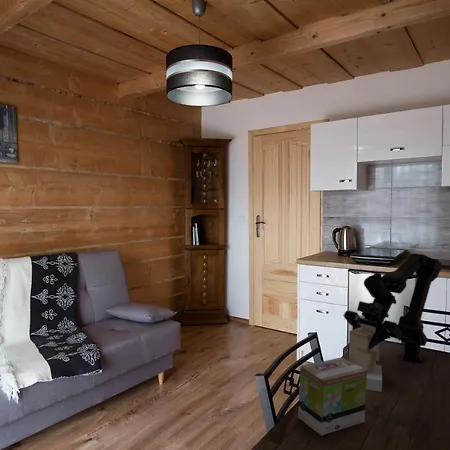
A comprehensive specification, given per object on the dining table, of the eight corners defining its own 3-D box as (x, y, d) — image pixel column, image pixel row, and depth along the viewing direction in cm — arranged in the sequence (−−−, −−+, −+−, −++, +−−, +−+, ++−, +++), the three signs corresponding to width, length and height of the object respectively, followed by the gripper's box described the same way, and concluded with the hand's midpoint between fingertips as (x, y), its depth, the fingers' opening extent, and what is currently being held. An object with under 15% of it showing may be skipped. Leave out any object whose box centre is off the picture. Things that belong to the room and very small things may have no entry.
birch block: (359, 359, 135) (360, 327, 134) (375, 365, 130) (376, 332, 129) (348, 363, 131) (349, 330, 131) (365, 370, 127) (365, 335, 126)
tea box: (322, 438, 99) (323, 380, 98) (297, 418, 108) (298, 365, 107) (366, 422, 106) (367, 368, 105) (339, 405, 115) (340, 355, 114)
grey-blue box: (343, 371, 139) (344, 360, 138) (381, 376, 135) (381, 365, 134) (341, 386, 127) (341, 374, 127) (381, 393, 123) (382, 380, 123)
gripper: (347, 287, 139) (326, 324, 133) (397, 297, 124) (376, 340, 118) (360, 305, 144) (340, 342, 138) (410, 318, 129) (390, 359, 123)
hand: (360, 345), depth 129 cm, fingers closed on birch block, 6 cm apart
